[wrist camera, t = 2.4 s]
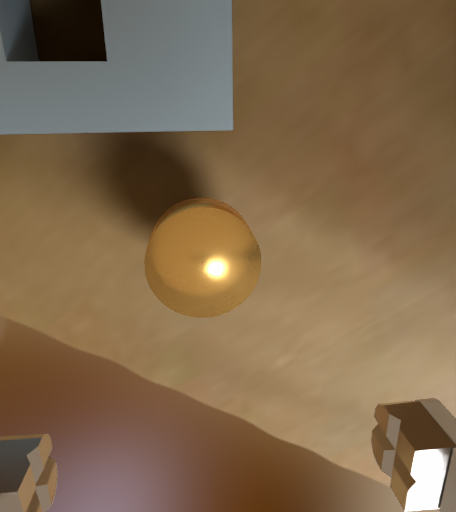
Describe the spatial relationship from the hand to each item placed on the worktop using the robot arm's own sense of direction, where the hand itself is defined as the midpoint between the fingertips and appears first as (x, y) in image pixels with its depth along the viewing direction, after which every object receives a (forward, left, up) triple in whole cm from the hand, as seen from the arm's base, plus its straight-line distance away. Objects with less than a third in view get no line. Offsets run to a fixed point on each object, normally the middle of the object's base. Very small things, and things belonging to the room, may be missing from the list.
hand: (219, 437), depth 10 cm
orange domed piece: (0, 0, -20) cm, 20 cm away
